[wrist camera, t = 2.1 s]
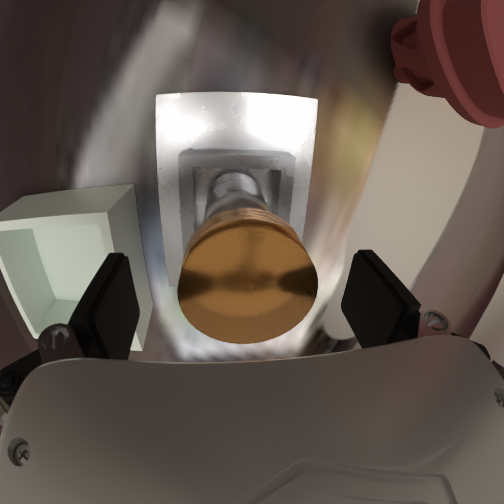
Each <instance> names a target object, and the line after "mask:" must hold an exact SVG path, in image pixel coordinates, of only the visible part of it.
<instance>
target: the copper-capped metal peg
mask: <svg viewBox="0 0 504 504" xmlns="http://www.w3.org/2000/svg"><path fill="white" fill-rule="evenodd" d="M317 290H318V278H317V272H316V270H315V267H314V265H313V263H312V261H311V259H310V257H309V255H308V253H307V252H306V250H305V248H304V246H303V244H302V242H301V241H300V239H299V237H298V235H297V234H296V232H295V231H294V229H293V228H292V227H291V226H290V225H289V224H288V223H287V222H286V221H285V220H283V219H282V218H280V217H279V216H277V215H275V214H273V213H271V212H270V210H269V208H268V205H267V203H266V201H265V199H264V197H263V194H262V192H261V190H260V188H259V186H258V184H257V183H256V182H255V181H254V180H253V179H252V178H251V177H249V176H247V175H245V174H242V173H228V174H225V175H222V176H220V177H219V178H217V179H216V180H215V181H214V182H213V183H212V185H211V186H210V188H209V190H208V194H207V200H206V207H205V214H204V221H203V223H202V224H201V225H200V226H199V227H198V228H197V229H196V230H195V232H194V233H193V234H192V236H191V237H190V239H189V241H188V243H187V245H186V249H185V252H184V257H183V261H182V266H181V271H180V277H179V282H178V290H177V292H178V301H179V305H180V307H181V310H182V312H183V314H184V315H185V317H186V318H187V320H188V321H189V322H190V323H191V324H192V325H193V326H194V327H195V328H196V329H197V330H199V331H200V332H202V333H203V334H205V335H207V336H209V337H211V338H214V339H216V340H220V341H223V342H228V343H236V344H250V343H258V342H263V341H267V340H270V339H273V338H276V337H278V336H280V335H282V334H284V333H286V332H288V331H289V330H291V329H292V328H293V327H295V326H296V325H297V324H298V323H300V322H301V321H302V320H303V319H304V317H305V316H306V315H307V314H308V312H309V311H310V309H311V308H312V306H313V303H314V301H315V298H316V295H317Z"/></svg>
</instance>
